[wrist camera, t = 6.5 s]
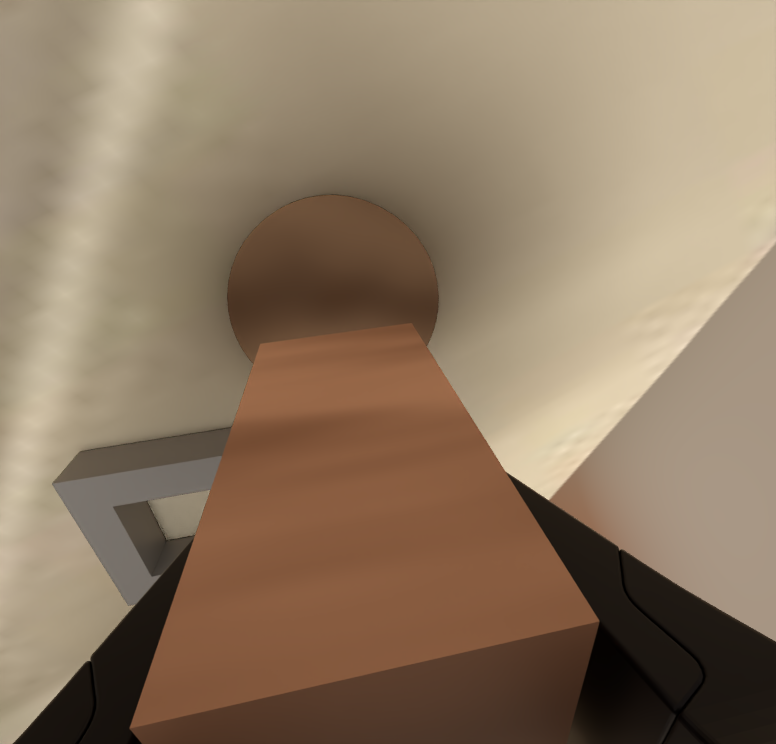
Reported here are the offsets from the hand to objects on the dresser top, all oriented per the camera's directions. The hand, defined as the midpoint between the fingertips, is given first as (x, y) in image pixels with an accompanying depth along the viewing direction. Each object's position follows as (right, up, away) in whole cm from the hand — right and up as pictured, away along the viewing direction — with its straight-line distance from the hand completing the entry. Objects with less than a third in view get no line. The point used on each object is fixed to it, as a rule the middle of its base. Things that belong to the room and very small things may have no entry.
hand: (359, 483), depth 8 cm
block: (-1, +2, +3) cm, 4 cm away
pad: (-2, +6, +12) cm, 13 cm away
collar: (-11, -5, +16) cm, 20 cm away
